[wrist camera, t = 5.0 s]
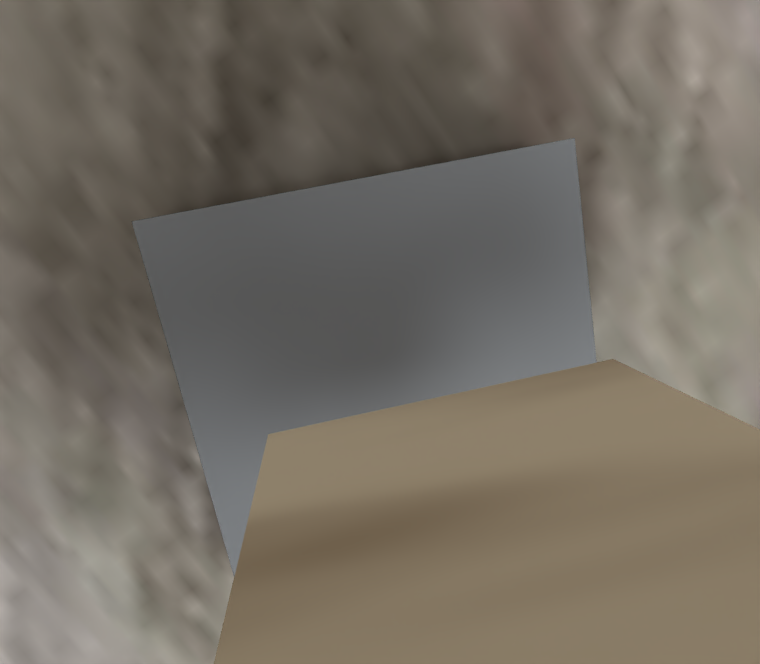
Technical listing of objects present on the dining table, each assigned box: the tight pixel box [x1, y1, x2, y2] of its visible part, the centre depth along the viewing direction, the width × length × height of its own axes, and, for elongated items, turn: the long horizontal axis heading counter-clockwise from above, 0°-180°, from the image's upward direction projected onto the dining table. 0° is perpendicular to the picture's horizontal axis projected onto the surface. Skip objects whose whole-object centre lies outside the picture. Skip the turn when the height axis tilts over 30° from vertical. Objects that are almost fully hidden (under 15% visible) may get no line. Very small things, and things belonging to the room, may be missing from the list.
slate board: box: [132, 138, 597, 576], centre depth 17 cm, size 12×12×3 cm
